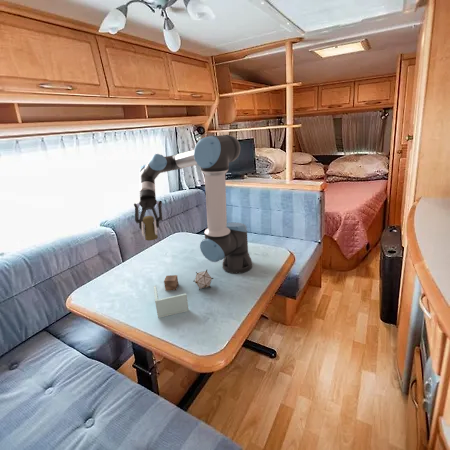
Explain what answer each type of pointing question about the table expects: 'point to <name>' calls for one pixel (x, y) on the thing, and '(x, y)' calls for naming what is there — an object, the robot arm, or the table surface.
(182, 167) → the robot arm
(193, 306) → the table surface
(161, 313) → the l-shaped corner panel
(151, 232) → the cork
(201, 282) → the game die
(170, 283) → the walnut block
